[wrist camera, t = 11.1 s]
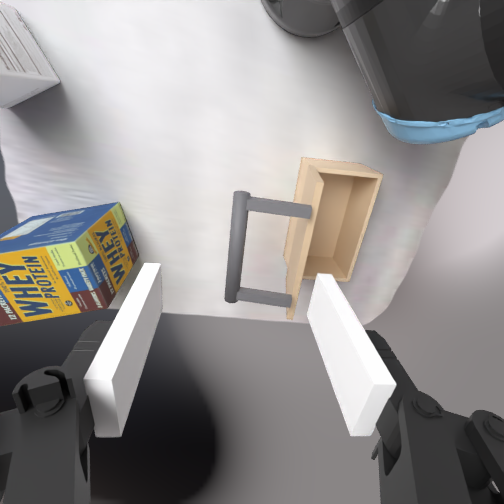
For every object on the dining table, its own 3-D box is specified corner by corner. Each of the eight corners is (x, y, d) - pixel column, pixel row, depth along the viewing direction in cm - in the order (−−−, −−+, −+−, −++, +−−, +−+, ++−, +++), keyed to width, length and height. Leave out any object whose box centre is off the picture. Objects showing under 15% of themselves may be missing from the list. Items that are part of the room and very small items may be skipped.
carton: (301, 157, 46) (314, 167, 39) (360, 163, 47) (383, 174, 40) (283, 255, 54) (291, 278, 47) (333, 258, 56) (349, 281, 48)
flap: (314, 165, 39) (246, 156, 39) (325, 185, 29) (234, 173, 29) (290, 279, 47) (234, 271, 48) (293, 326, 37) (222, 315, 37)
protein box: (140, 255, 52) (109, 309, 39) (58, 268, 53) (-3, 327, 39) (120, 200, 48) (75, 240, 34) (28, 215, 48) (-53, 261, 34)
